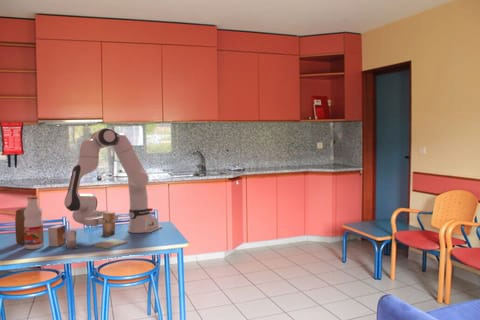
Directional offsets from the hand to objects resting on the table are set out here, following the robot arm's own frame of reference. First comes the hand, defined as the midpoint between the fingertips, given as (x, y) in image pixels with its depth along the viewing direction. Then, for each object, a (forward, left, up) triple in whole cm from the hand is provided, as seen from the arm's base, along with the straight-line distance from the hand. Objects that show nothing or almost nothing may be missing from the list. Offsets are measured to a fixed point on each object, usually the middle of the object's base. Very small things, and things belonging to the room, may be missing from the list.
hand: (110, 220), depth 232 cm
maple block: (0, -1, -5) cm, 6 cm away
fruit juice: (+26, -32, -13) cm, 43 cm away
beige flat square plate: (0, -1, -13) cm, 13 cm away
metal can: (+16, -13, -13) cm, 24 cm away
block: (+23, -46, -13) cm, 53 cm away
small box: (+16, -26, -14) cm, 33 cm away
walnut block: (-16, -22, -13) cm, 30 cm away
